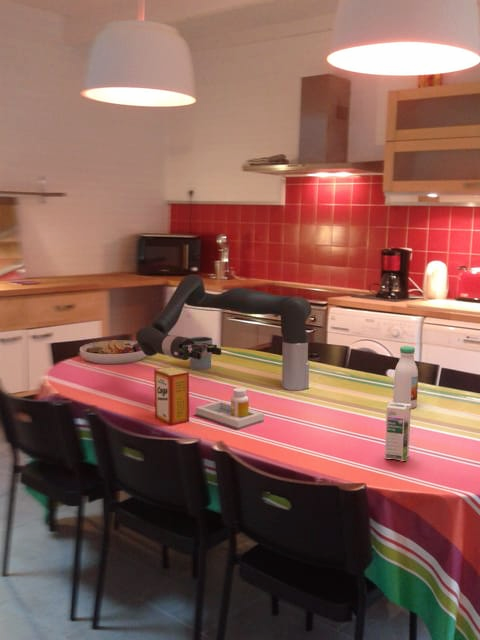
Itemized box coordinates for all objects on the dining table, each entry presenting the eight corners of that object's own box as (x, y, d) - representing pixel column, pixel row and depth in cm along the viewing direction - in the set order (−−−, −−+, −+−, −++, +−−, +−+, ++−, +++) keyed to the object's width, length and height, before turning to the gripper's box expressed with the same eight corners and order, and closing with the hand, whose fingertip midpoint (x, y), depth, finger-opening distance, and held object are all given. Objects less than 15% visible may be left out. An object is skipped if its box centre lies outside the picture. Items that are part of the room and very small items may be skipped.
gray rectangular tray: (196, 415, 214) (195, 407, 214) (221, 408, 222) (221, 400, 221) (238, 429, 200) (238, 421, 200) (263, 421, 208) (263, 413, 208)
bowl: (66, 362, 287) (65, 344, 285) (105, 348, 314) (104, 332, 313) (127, 368, 276) (126, 350, 274) (161, 354, 303) (161, 337, 302)
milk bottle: (403, 410, 220) (406, 350, 217) (388, 404, 227) (390, 346, 223) (421, 407, 223) (424, 348, 220) (405, 401, 230) (408, 344, 227)
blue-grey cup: (217, 366, 279) (217, 338, 277) (203, 371, 270) (202, 342, 268) (197, 363, 284) (197, 335, 282) (182, 368, 276) (182, 339, 274)
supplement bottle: (251, 418, 209) (251, 388, 207) (244, 423, 204) (244, 392, 202) (235, 416, 211) (235, 386, 209) (228, 421, 206) (228, 390, 205)
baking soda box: (155, 418, 211) (154, 368, 209) (172, 414, 215) (172, 365, 212) (171, 425, 204) (170, 374, 201) (189, 421, 208) (188, 371, 205)
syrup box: (384, 459, 177) (386, 406, 175) (387, 452, 183) (389, 400, 180) (406, 462, 175) (408, 409, 173) (409, 455, 181) (411, 403, 178)
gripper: (161, 339, 220) (193, 345, 209) (194, 333, 230) (226, 339, 219) (161, 361, 221) (194, 369, 210) (194, 354, 231) (227, 361, 220)
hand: (210, 354), depth 214 cm, fingers open, 8 cm apart
